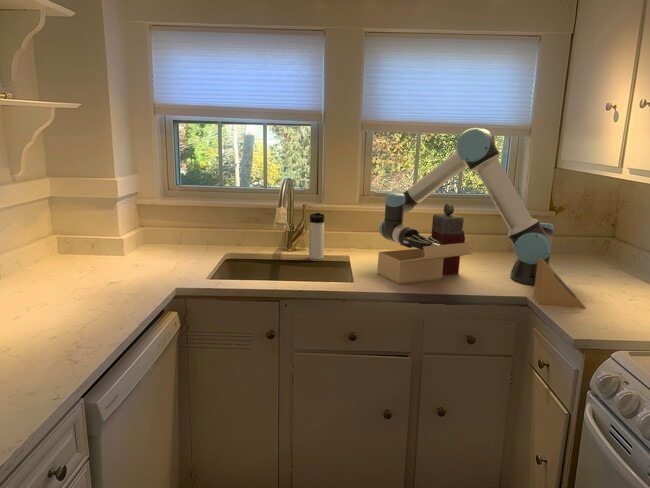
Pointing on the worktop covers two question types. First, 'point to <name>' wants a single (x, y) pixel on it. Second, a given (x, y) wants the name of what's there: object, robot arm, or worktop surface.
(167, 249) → the worktop surface
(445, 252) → the mailer lid
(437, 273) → the mailer box
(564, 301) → the sandwich container
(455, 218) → the red grinder
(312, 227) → the travel mug
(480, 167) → the robot arm
